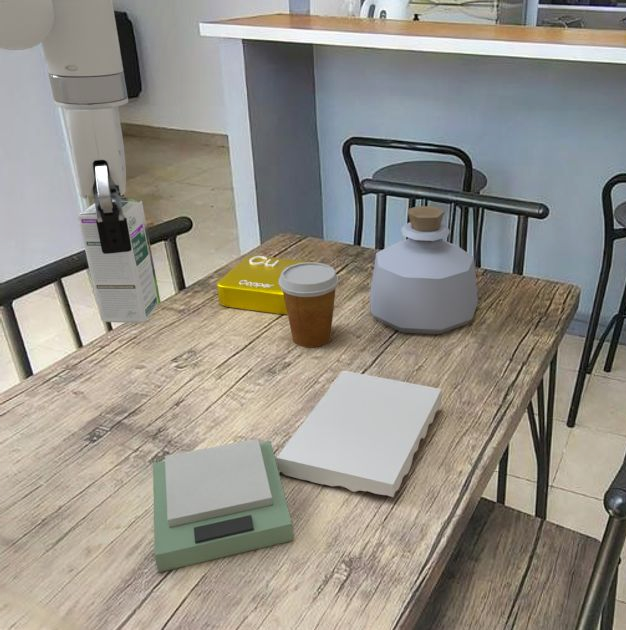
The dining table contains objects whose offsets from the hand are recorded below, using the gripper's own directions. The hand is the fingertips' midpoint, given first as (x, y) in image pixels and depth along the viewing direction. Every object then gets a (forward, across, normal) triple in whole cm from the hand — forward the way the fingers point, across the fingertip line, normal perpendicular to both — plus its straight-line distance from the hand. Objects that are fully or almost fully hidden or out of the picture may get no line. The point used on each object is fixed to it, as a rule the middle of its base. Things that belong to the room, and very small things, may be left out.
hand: (117, 239), depth 83 cm
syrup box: (+10, 0, 0) cm, 10 cm away
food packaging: (+26, +16, +26) cm, 40 cm away
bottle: (+25, -16, +47) cm, 56 cm away
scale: (+25, +23, +7) cm, 35 cm away
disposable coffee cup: (+25, -13, +26) cm, 39 cm away
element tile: (+25, -32, +22) cm, 47 cm away
